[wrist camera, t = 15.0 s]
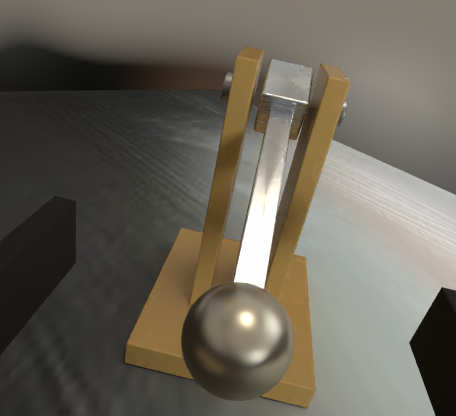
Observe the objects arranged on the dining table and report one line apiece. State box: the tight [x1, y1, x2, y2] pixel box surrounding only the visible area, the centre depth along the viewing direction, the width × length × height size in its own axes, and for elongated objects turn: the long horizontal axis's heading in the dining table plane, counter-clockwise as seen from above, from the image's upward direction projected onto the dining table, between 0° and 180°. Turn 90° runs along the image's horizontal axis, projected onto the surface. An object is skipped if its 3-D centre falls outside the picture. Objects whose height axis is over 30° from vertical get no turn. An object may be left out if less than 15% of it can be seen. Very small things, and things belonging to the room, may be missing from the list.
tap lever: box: [181, 59, 313, 401], centre depth 16 cm, size 15×4×4 cm, turn 173°
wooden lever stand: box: [125, 47, 351, 408], centre depth 22 cm, size 12×10×16 cm
